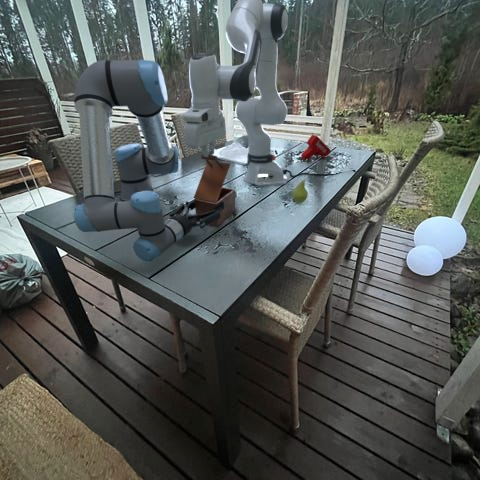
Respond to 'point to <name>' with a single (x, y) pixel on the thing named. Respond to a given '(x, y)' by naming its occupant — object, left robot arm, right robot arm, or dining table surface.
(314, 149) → the toy gun
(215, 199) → the lid
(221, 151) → the relief map
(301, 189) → the fruit
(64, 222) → the dining table surface
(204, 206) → the chest
